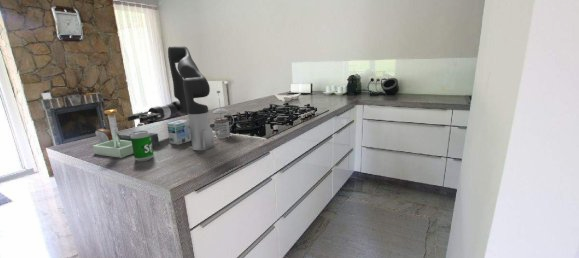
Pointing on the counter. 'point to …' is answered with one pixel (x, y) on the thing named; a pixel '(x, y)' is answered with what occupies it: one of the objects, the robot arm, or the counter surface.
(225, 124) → the french press
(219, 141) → the counter surface
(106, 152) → the tray
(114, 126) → the gold capped white cylinder
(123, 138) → the hitch bar
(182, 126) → the light bulb box
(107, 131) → the bread slice
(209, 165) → the counter surface
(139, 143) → the soda can
